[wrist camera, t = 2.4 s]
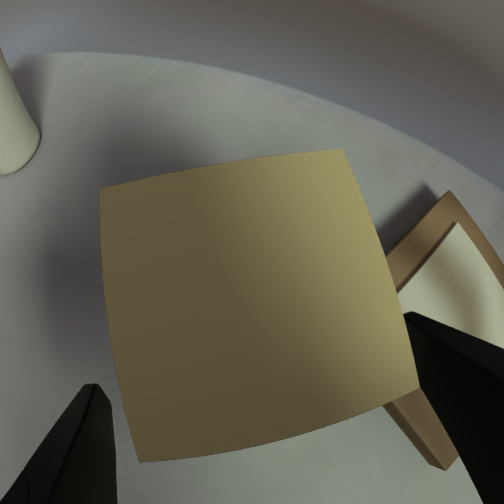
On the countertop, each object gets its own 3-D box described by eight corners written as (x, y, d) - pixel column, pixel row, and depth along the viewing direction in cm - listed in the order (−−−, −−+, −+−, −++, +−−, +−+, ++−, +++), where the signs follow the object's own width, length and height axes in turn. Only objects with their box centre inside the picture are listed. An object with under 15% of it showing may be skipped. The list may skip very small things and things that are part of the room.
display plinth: (429, 464, 14) (448, 472, 12) (313, 320, 17) (324, 314, 15) (520, 328, 18) (538, 324, 16) (435, 201, 21) (451, 187, 19)
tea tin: (293, 370, 16) (419, 387, 5) (200, 390, 16) (139, 462, 4) (271, 281, 18) (342, 148, 6) (181, 299, 17) (99, 189, 6)
